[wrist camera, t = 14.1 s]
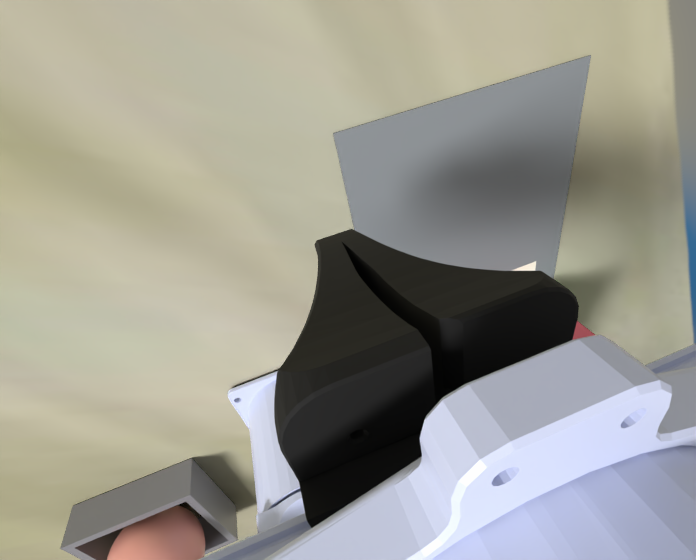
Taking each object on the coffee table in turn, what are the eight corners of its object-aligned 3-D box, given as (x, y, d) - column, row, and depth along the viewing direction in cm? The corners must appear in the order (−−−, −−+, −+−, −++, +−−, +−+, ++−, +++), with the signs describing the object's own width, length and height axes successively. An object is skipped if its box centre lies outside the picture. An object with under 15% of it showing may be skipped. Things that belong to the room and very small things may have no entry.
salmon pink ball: (218, 510, 34) (220, 602, 29) (143, 542, 33) (129, 643, 28) (183, 475, 30) (177, 575, 25) (96, 511, 29) (69, 622, 24)
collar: (235, 506, 35) (237, 540, 33) (137, 547, 34) (132, 586, 32) (191, 458, 30) (190, 494, 27) (72, 505, 29) (60, 548, 26)
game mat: (538, 363, 38) (539, 364, 38) (397, 422, 36) (397, 423, 36) (589, 55, 22) (590, 55, 21) (333, 133, 20) (333, 133, 19)
